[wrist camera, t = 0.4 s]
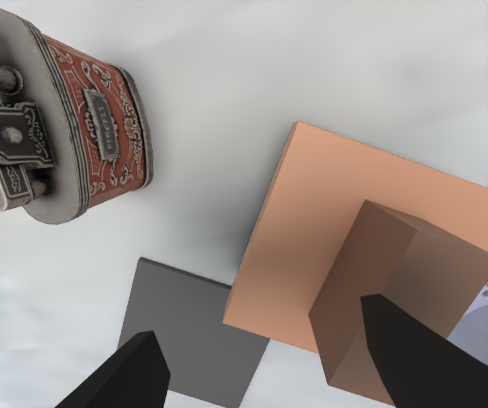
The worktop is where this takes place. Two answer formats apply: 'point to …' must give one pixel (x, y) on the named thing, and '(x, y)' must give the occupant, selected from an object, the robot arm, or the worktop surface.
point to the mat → (193, 333)
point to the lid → (357, 251)
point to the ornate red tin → (65, 127)
